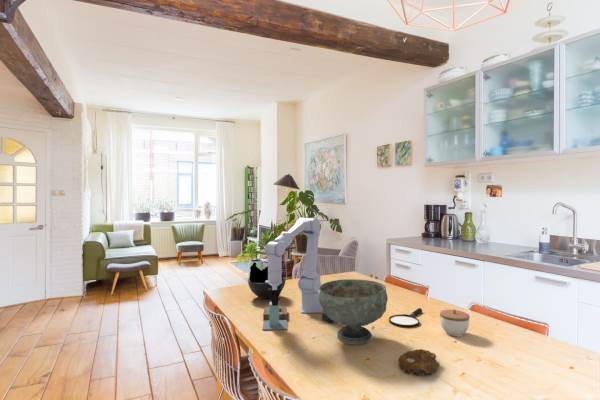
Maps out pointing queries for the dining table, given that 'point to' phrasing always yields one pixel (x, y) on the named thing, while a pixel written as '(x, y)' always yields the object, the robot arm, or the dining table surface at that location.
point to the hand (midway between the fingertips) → (275, 302)
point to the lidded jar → (454, 322)
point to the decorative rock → (418, 362)
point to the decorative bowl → (353, 306)
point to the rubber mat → (281, 326)
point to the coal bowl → (260, 281)
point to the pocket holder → (281, 313)
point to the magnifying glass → (406, 319)
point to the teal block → (273, 315)
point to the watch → (326, 318)
